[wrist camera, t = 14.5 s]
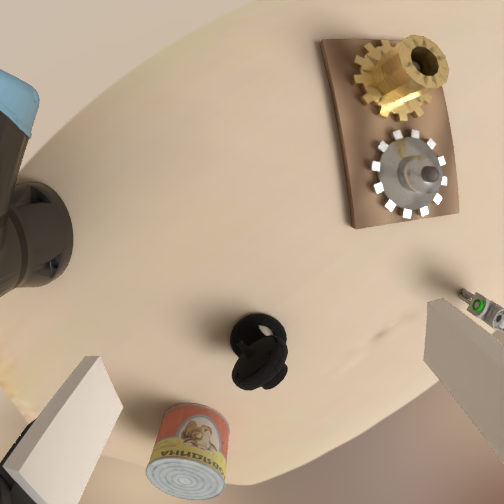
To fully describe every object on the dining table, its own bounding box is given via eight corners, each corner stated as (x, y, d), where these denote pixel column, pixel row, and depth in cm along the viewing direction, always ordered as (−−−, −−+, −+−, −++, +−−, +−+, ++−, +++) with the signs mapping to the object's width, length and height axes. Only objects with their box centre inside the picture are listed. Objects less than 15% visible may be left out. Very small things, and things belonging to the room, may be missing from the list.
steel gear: (374, 221, 37) (390, 228, 32) (362, 132, 35) (377, 127, 30) (445, 211, 37) (466, 216, 32) (436, 129, 34) (457, 125, 29)
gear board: (352, 227, 39) (376, 240, 31) (319, 44, 33) (335, 16, 25) (453, 211, 38) (489, 220, 30) (425, 47, 33) (455, 27, 24)
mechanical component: (447, 273, 40) (486, 296, 31) (484, 296, 41) (521, 320, 32) (437, 290, 41) (475, 318, 31) (475, 312, 42) (511, 338, 32)
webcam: (254, 369, 44) (255, 415, 34) (218, 335, 42) (210, 378, 33) (297, 338, 43) (308, 381, 33) (262, 301, 41) (265, 339, 32)
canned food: (239, 416, 46) (237, 473, 34) (216, 454, 49) (210, 506, 37) (172, 393, 45) (154, 447, 33) (156, 434, 48) (140, 484, 36)
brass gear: (360, 124, 34) (390, 111, 26) (342, 42, 32) (364, 11, 23) (435, 121, 34) (475, 112, 25) (416, 45, 31) (450, 22, 23)
